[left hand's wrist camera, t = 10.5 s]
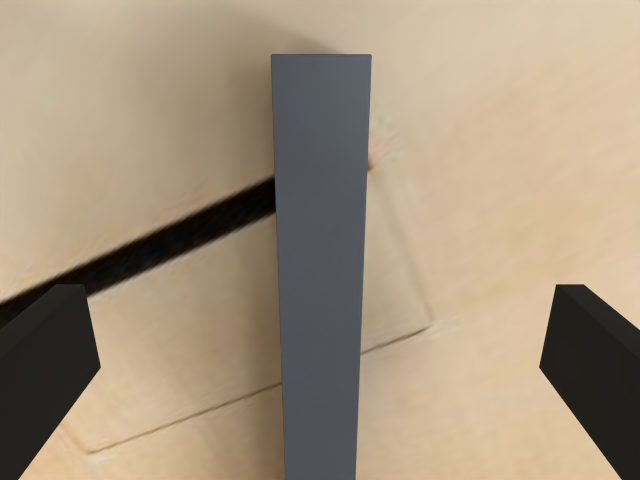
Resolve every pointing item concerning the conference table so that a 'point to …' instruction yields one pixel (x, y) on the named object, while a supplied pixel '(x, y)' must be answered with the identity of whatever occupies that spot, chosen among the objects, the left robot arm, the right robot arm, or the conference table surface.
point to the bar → (320, 254)
